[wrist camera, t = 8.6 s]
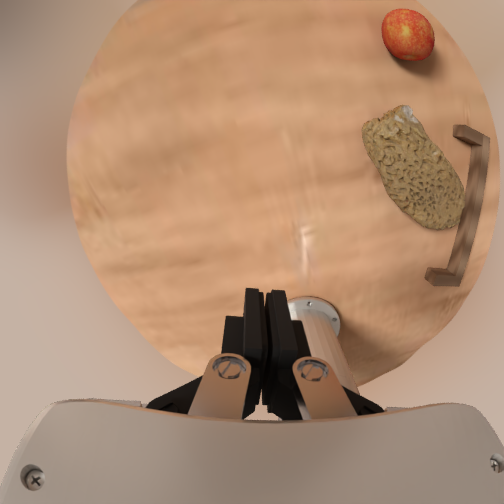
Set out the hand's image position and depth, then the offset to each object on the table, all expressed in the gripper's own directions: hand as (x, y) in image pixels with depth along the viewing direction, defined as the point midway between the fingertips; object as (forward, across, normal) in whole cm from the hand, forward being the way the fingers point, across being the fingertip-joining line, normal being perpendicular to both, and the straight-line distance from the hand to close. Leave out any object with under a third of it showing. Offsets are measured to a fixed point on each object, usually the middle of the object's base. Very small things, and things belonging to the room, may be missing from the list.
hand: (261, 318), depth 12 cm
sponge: (+28, -23, -8) cm, 37 cm away
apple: (+27, -19, -28) cm, 43 cm away
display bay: (+27, -34, -4) cm, 44 cm away
